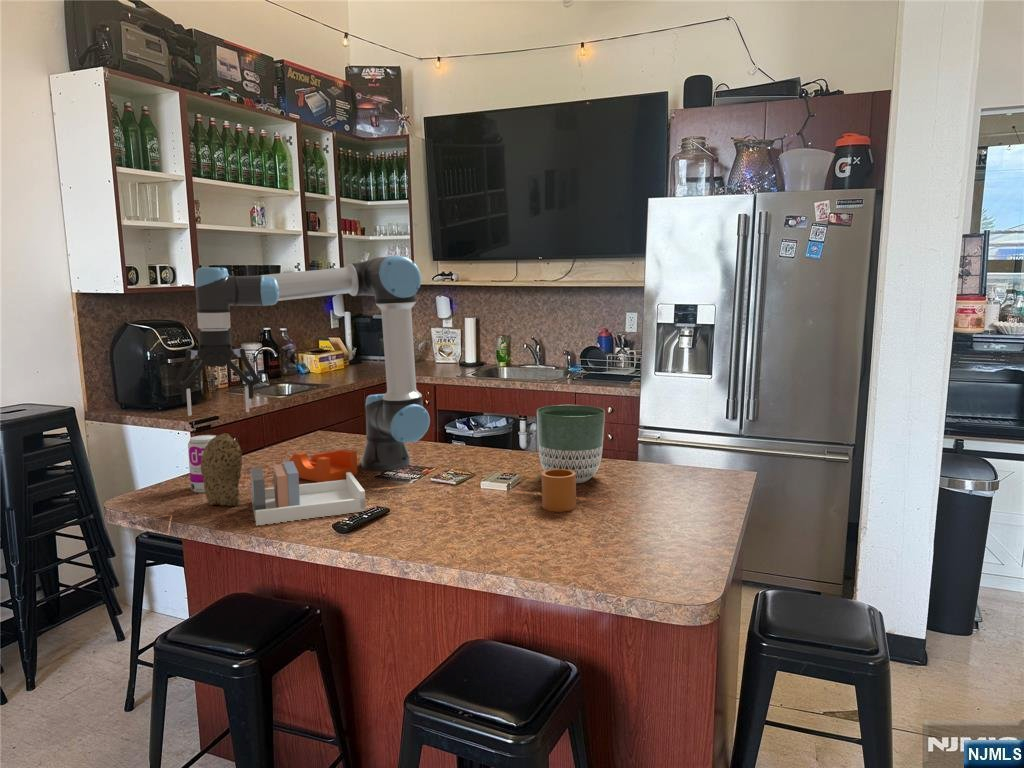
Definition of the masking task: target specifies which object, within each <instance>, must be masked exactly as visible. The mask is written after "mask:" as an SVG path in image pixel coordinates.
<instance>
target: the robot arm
mask: <svg viewBox="0 0 1024 768" xmlns="http://www.w3.org/2000/svg"><path fill="white" fill-rule="evenodd" d="M421 283H422V275H421V271H420V269H419V266H417V264H416V263H415V262H414V261H413V260H411V259H410V258H409V257H407V256H401V255H389V256H383V257H375V258H371V259H369V260H368V259H367V260H363V261H360V262H359V261H358V262H352V263H347V264H346V266H345V267H338V268H337V267H336V268H326V269H314V270H304V271H303V270H302V271H292V272H290V271H289V272H283V273H280V272H279V273H270V274H261V275H240V276H239V275H230V274H229V272H228V269H227V268H226V267H212V266H211V267H209V266H208V267H204V266H203V267H199V268H197V269H196V270H195V286H194V287H195V297H196V299H195V300H196V309H197V310H196V316H197V318H196V319H197V328H198V329H200V330H199V332H197V333H198V350H193V349H187V350H186V351H185V358H184V360H183V363H182V365H181V367H180V369H179V371H178V374H177V375H176V377H175V380H174V382H173V384H172V386H173V388H176V389H179V390H180V391H181V401H182V403H186V404H187V406H186V407H187V416H188V417H189V416H190V417H191V416H192V400H191V399H192V398H191V397H192V396H191V388H188V387H189V386H190V385H191V384H192V382H193V381H194V380H195V379H196V378H197V376H198V375H199V374H201V372H202V371H203V370H204V369H205V368H206V366H207V367H209V368H215V367H219V368H224V367H225V366H228V367H229V368H230V369H231V370H232V371H233V372H234V373H235V374H236V375H237V376H238V377H239V378H240V379H241V380H242V381H243V382H244V383H245V384H246V385H244V395H245V396H244V399H245V400H244V401H245V412H246V413H250V400H251V399H254V387H255V385H259V384H260V383H261V380H260V378H259V376H258V374H257V373H256V371H255V369H254V367H253V366H252V364H251V363H250V361H249V360H248V358H247V355H246V350H245V348H244V347H240V348H235V349H233V346H232V331H231V330H229V329H230V328H231V313H230V312H231V310H230V306H231V307H232V306H233V307H235V306H241V307H242V306H247V307H248V306H249V307H250V306H258V307H259V306H263V307H266V306H274V305H276V304H277V303H278V302H279V301H288V300H289V301H290V300H297V299H298V300H299V299H308V298H316V297H326V296H335V295H337V296H338V295H344V294H349V295H350V296H352V297H357V296H370V297H371V296H372V297H374V301H375V305H376V307H378V308H379V309H380V311H381V323H382V325H381V326H382V336H383V337H382V338H383V340H382V341H383V353H384V363H385V364H384V366H385V378H386V392H385V393H377V394H369V395H368V396H366V398H365V404H364V405H365V406H364V407H365V427H366V428H365V429H366V430H365V432H366V444H365V447H364V451H363V454H362V457H361V467H362V468H363V470H364V469H365V470H367V471H371V472H372V471H373V472H374V471H375V472H388V471H387V470H391V471H395V470H394V469H397V470H399V469H398V468H402V469H404V468H403V467H405V468H407V467H409V466H410V465H411V456H410V454H409V451H408V448H407V445H406V444H407V443H408V444H411V443H416V442H417V441H419V440H421V439H422V438H423V437H424V436H425V434H427V431H429V427H430V423H431V417H430V414H429V412H428V410H427V409H426V408H425V407H424V406H423V395H422V393H421V392H419V390H418V389H417V380H416V379H417V378H416V366H415V365H416V363H415V348H414V346H415V345H414V333H413V332H414V331H413V317H412V314H413V313H412V308H413V307H414V306H415V305H416V303H417V295H416V294H417V292H418V291H419V289H420V288H421ZM234 355H236V356H237V357H238V358H240V359H241V361H242V362H243V364H244V366H245V367H246V369H247V371H248V373H249V374H250V376H251V377H252V379H250V378H249V377H248V376H247V375H246V374H245V373H244V372H243V371H242V370H241V369H240V368H239V367H238V366H237V365H236V364H235V363H234V362H233V361H232V360H231V359H232V357H233V356H234ZM195 356H198V357H199V359H200V360H201V361H200V363H199V364H198V366H197V367H196V368H195V369H194V370H193V371H192V373H190V375H189V376H188V377H187V378H186V380H184V382H183V383H182V382H181V381H182V380H183V377H184V375H185V373H186V371H187V369H188V366H190V365H189V364H190V362H191V360H193V359H195ZM408 465H409V466H408ZM406 466H407V467H406Z"/></svg>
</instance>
